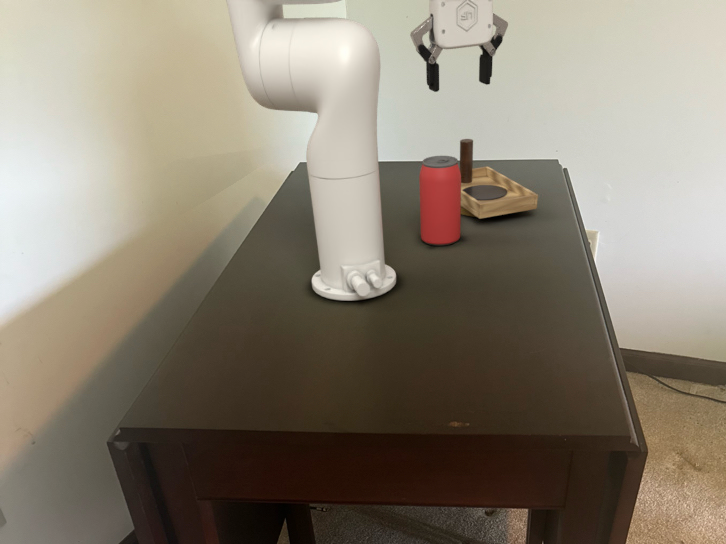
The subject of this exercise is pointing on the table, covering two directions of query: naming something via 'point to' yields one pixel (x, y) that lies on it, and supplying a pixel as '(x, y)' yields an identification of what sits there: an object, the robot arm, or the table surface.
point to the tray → (490, 189)
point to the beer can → (440, 200)
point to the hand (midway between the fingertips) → (459, 86)
